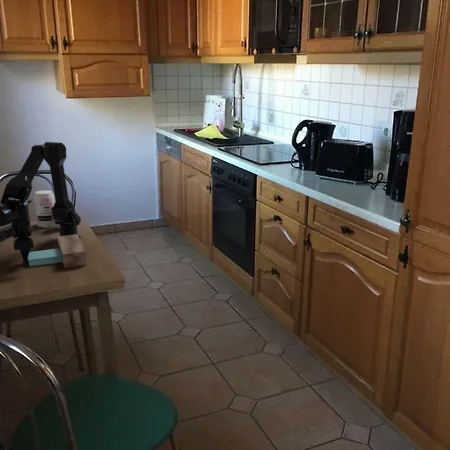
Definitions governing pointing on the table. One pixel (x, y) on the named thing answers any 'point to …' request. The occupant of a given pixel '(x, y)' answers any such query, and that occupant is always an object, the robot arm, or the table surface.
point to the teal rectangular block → (45, 257)
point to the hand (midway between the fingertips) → (25, 260)
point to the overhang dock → (72, 251)
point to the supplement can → (44, 208)
